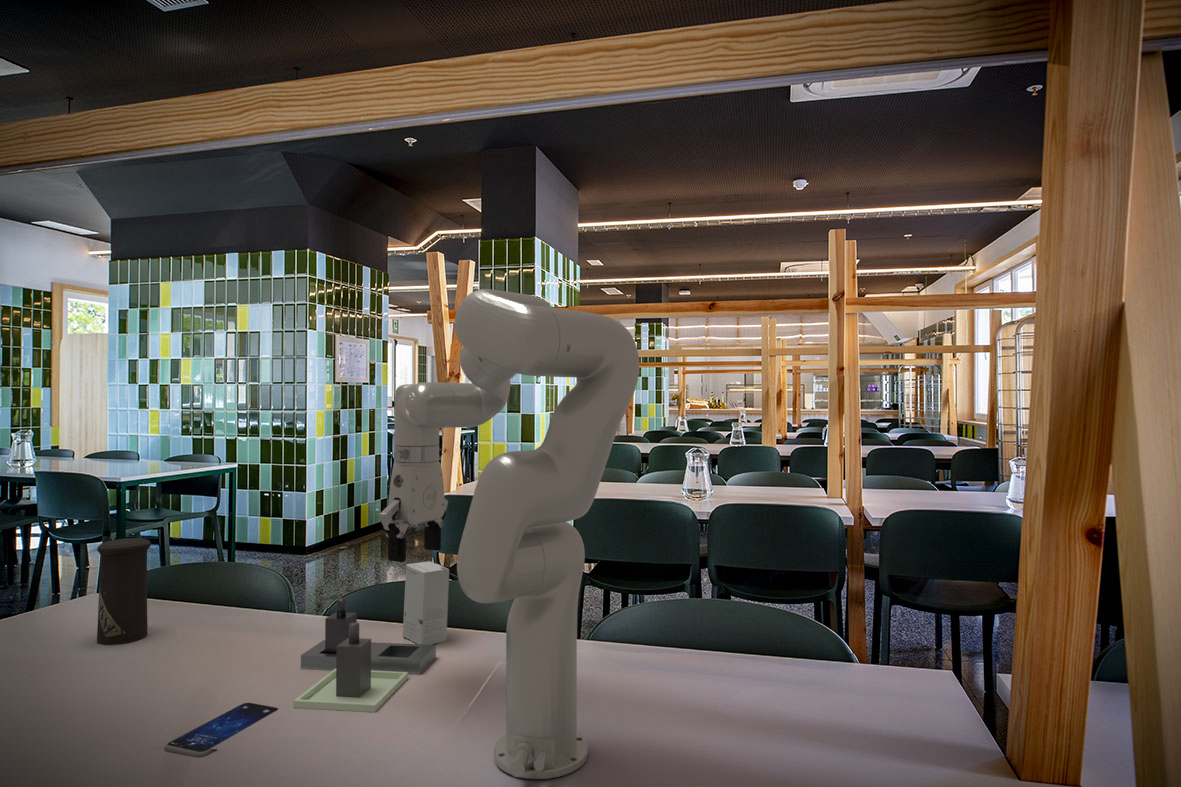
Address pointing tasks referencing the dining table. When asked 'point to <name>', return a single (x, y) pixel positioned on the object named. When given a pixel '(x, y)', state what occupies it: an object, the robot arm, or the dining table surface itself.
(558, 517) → the robot arm
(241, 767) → the dining table surface
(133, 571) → the container
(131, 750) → the dining table surface
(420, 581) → the skincare box
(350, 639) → the plug
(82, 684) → the dining table surface
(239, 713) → the smartphone
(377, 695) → the tray
